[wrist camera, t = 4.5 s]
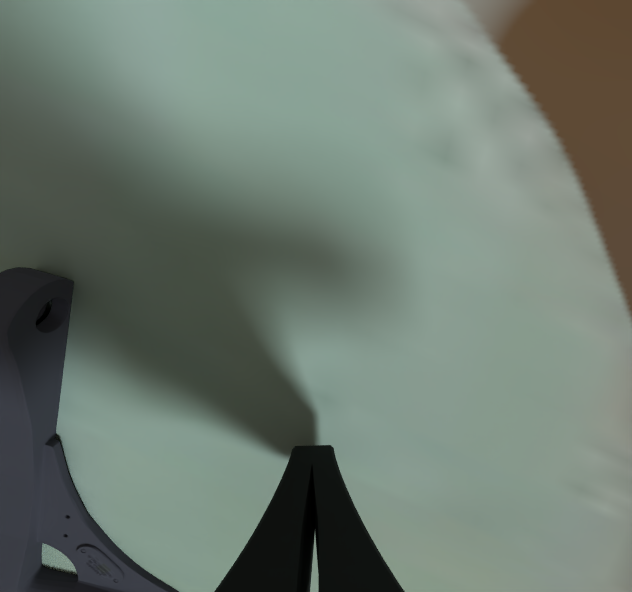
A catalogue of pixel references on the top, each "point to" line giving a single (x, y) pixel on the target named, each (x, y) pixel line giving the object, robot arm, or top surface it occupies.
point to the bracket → (45, 454)
